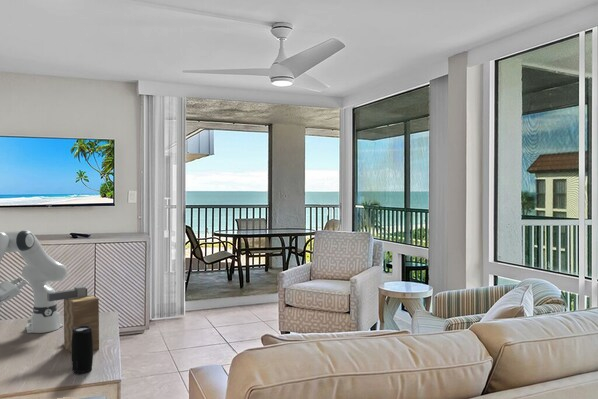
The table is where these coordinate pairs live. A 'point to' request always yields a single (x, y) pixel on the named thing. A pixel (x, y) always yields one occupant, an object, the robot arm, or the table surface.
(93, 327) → the panel block
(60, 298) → the dark grey square bar
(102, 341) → the table surface
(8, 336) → the table surface
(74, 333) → the portable speaker
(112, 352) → the table surface
